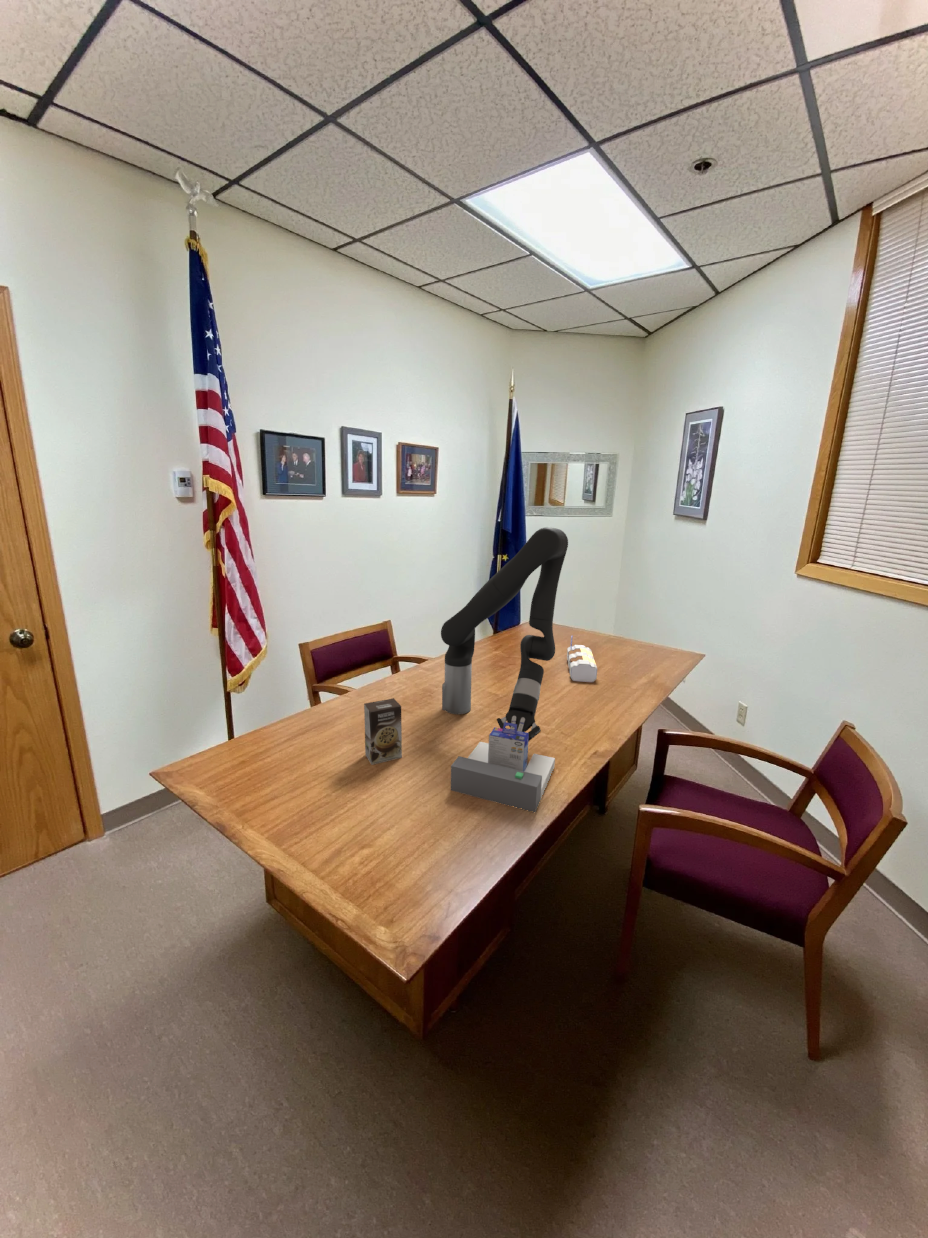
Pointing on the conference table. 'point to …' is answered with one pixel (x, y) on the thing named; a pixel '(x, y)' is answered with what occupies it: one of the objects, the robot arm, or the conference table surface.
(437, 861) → the conference table surface
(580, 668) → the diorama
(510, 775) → the charging dock
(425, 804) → the conference table surface
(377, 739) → the dessert mix box
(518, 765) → the ink cartridge box
